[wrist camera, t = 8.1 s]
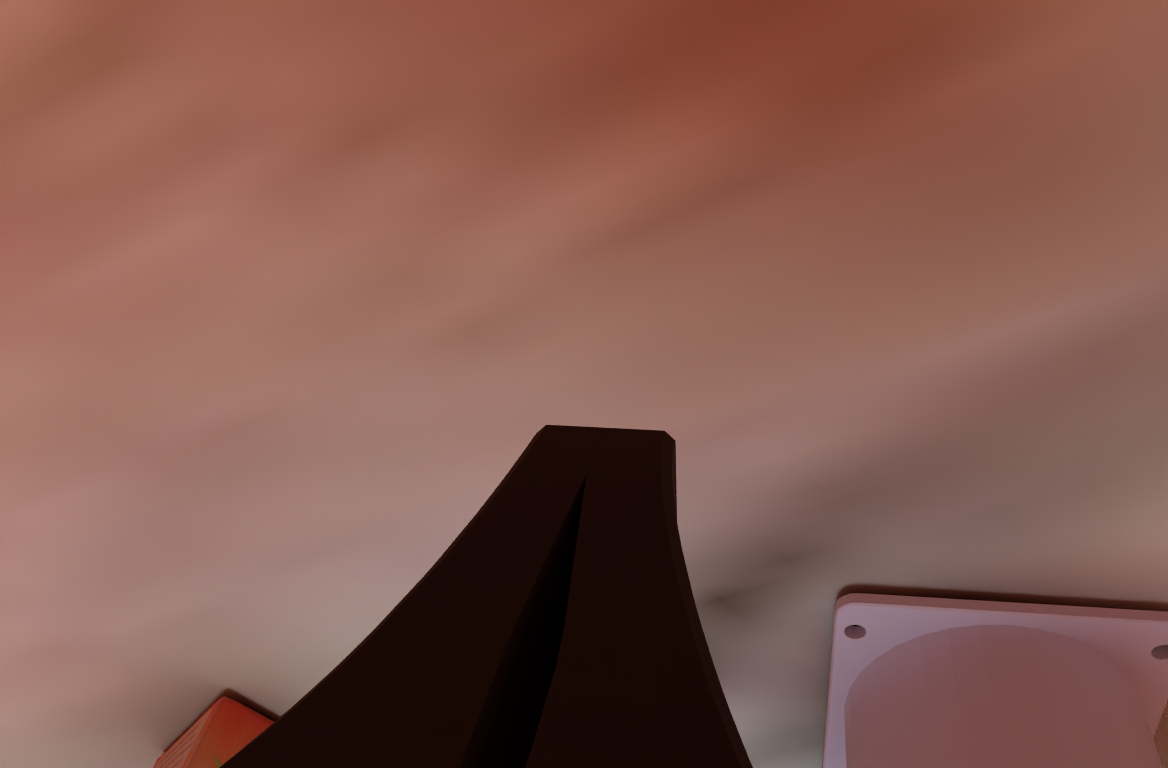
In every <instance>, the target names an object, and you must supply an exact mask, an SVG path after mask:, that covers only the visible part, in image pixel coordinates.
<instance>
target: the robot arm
mask: <svg viewBox="0 0 1168 768" xmlns="http://www.w3.org/2000/svg"><path fill="white" fill-rule="evenodd" d="M849 625H860V626H855V627H853V626H849ZM1159 645H1163V646H1159ZM1167 701H1168V612H1165V611H1149V610H1132V609H1115V608H1098V607H1081V606H1065V605H1048V604H1031V603H1014V602H998V601H981V600H964V599H947V598H931V597H914V596H897V595H880V594H863V593H852V594H847V595H844V596H842V597H841V598H840V599H838V600H837V602H836V604H835V611H834V624H833V637H832V650H831V662H830V675H829V688H828V701H827V714H826V726H825V739H824V752H823V765H822V768H1162V765H1161V761H1160V758H1159V755H1158V752H1157V749H1156V745H1155V742H1154V739H1153V738H1154V735H1155V732H1156V730H1157V727H1158V725H1159V722H1160V719H1161V717H1162V714H1163V711H1164V709H1165V706H1166V704H1167ZM219 768H753V767H752V765H751V762H750V760H749V758H748V755H747V753H746V750H745V748H744V745H743V743H742V740H741V737H740V735H739V732H738V730H737V727H736V725H735V722H734V720H733V717H732V715H731V712H730V709H729V707H728V704H727V701H726V698H725V696H724V693H723V690H722V687H721V684H720V682H719V679H718V676H717V673H716V670H715V667H714V664H713V661H712V658H711V655H710V651H709V648H708V645H707V642H706V639H705V636H704V633H703V629H702V626H701V623H700V619H699V616H698V612H697V608H696V605H695V601H694V598H693V594H692V589H691V585H690V581H689V577H688V573H687V568H686V564H685V560H684V556H683V552H682V547H681V542H680V536H679V531H678V525H677V498H676V446H675V440H674V439H673V438H672V437H671V436H670V435H669V434H667V433H666V432H665V431H659V430H639V429H619V428H599V427H579V426H559V425H546V426H544V427H543V428H542V429H541V430H540V431H538V432H537V433H536V435H535V436H534V437H533V439H532V440H531V442H530V443H529V445H528V446H527V447H526V449H525V450H524V452H523V453H522V454H521V456H520V457H519V459H518V460H517V461H516V463H515V464H514V465H513V467H512V468H511V470H510V471H509V472H508V474H507V475H506V476H505V478H504V479H503V480H502V482H501V483H500V484H499V486H498V487H497V488H496V489H495V491H494V492H493V493H492V495H491V496H490V497H489V498H488V500H487V501H486V502H485V504H484V505H483V506H482V507H481V509H480V510H479V511H478V513H477V514H476V515H475V516H474V517H473V519H472V520H471V521H470V522H469V523H468V525H467V526H466V527H465V528H464V529H463V531H462V532H461V533H460V534H459V535H458V537H457V538H456V539H455V540H454V541H453V543H452V544H451V545H450V546H449V547H448V549H447V550H446V551H445V552H444V553H443V555H442V556H441V557H440V558H439V559H438V561H437V562H436V563H435V564H434V565H433V566H432V568H431V569H430V570H429V571H428V572H427V573H426V574H425V576H424V577H423V578H422V579H421V580H420V581H419V582H418V583H417V584H416V585H415V586H414V587H413V589H412V590H411V591H410V592H409V593H408V594H407V595H406V596H405V597H404V598H403V599H402V600H401V601H400V602H399V604H398V605H397V606H396V607H395V608H394V609H393V610H392V611H391V612H390V613H389V614H388V615H387V616H386V617H385V619H384V620H383V621H382V622H381V623H380V624H379V625H378V626H377V627H376V628H375V629H374V630H373V631H372V632H371V633H370V634H369V635H368V636H367V637H366V638H365V639H364V640H363V641H362V642H361V643H360V644H359V645H358V646H357V647H356V648H355V649H354V650H353V651H352V652H351V653H350V654H349V655H348V656H347V657H346V658H345V659H344V660H343V661H342V662H341V663H340V664H339V665H338V666H337V667H335V668H334V669H333V670H332V671H331V672H330V673H329V674H328V675H327V676H326V677H325V678H324V679H323V680H321V681H320V682H319V683H318V684H317V685H316V686H315V687H314V688H313V689H312V690H310V691H309V692H308V693H307V694H306V695H305V696H304V697H303V698H302V699H301V700H299V701H298V702H297V703H296V704H295V705H294V706H293V707H292V708H290V709H289V710H288V711H287V712H286V713H284V714H283V715H282V716H281V717H280V718H278V719H277V720H276V721H275V722H274V723H272V724H271V725H270V726H269V727H268V728H266V729H265V730H264V731H263V732H262V733H260V734H259V735H258V736H257V737H256V738H254V739H253V740H252V741H251V742H250V743H248V744H247V745H246V746H245V747H244V748H242V749H241V750H240V751H239V752H238V753H236V754H235V755H234V756H233V757H232V758H230V759H229V760H228V761H227V762H225V763H224V764H223V765H221V766H220V767H219Z"/></svg>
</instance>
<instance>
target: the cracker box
mask: <svg viewBox="0 0 1168 768" xmlns="http://www.w3.org/2000/svg"><path fill="white" fill-rule="evenodd" d="M272 723H274V722H273V721H272V720H270V719H268V718H266V717H264V716H262V715H261V714H259V713H257V712H255V711H253V710H251V709H250V708H248V707H246V706H244V705H242V704H240V703H239V702H237V701H235V700H233V699H231V698H228V697H225V696H224V697H222V698H220V699H219V700H218V701H216V702H215V703H214V704H213V705H212V706H211V707H210V708H209V709H208V710H207V711H206V712H205V713H204V714H203V715H202V716H201V717H200V718H199V719H198V720H197V721H196V722H195V723H194V724H193V725H192V726H191V728H190V729H189V730H187V731H186V732H185V733H184V734H183V735H182V736H181V737H180V738H179V739H178V740H177V741H176V742H175V743H174V744H173V745H172V746H171V747H170V748H169V749H168V750H167V751H166V752H165V753H164V754H163V755H162V756H161V757H160V758H158V760H157V761H156V763H155V765H154V767H153V768H219V767H220V766H221V765H223V764H224V763H225V762H227V761H228V760H229V759H230V758H232V757H233V756H234V755H235V754H236V753H238V752H239V751H240V750H241V749H242V748H244V747H245V746H246V745H247V744H248V743H250V742H251V741H252V740H253V739H254V738H256V737H257V736H258V735H259V734H260V733H262V732H263V731H264V730H265V729H266V728H268V727H269V726H270V725H271V724H272Z"/></svg>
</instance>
